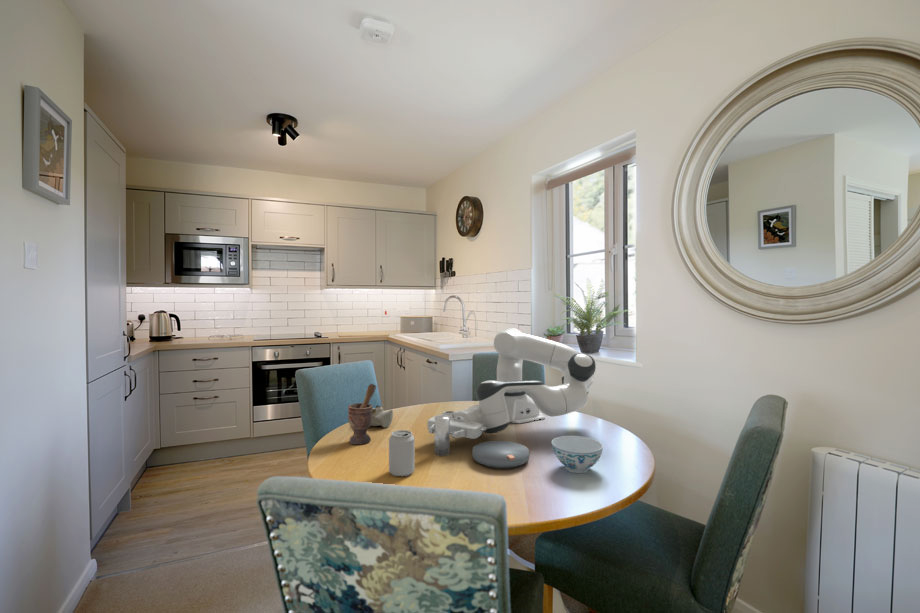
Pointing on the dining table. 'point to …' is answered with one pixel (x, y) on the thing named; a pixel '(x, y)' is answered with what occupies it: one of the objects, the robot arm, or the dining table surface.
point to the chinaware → (577, 452)
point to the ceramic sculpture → (381, 417)
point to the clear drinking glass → (442, 435)
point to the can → (401, 453)
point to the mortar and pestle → (361, 418)
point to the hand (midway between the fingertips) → (441, 433)
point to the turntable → (500, 453)
